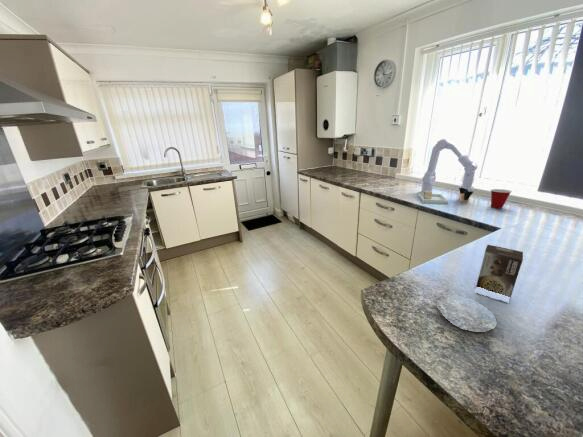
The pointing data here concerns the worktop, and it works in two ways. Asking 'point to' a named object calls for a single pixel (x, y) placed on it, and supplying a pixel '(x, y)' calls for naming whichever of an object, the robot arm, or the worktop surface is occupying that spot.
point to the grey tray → (433, 199)
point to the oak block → (427, 194)
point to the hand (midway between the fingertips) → (463, 198)
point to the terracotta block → (462, 198)
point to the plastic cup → (499, 197)
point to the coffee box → (499, 270)
